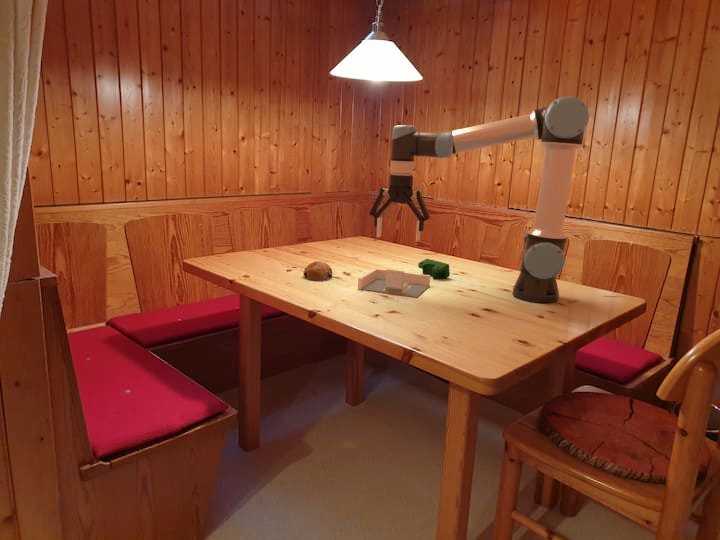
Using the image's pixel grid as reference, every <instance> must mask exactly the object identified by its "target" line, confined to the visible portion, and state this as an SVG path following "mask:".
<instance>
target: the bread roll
mask: <svg viewBox="0 0 720 540" xmlns="http://www.w3.org/2000/svg"><path fill="white" fill-rule="evenodd" d="M303 276H304V277H305V279H307V280H310V281H318V282H324V281H323V280H325V281H329V280H331V278H332V276H333V269H332V268H331V266H330V265H329V264H328V263H327V262H325V261H319V260H318V261H317V260H315V261H313V262H311V263H309V264H308V265H307V266H306V267H305V268H304V270H303Z"/></svg>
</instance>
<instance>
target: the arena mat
mask: <svg viewBox="0 0 720 540" xmlns="http://www.w3.org/2000/svg"><path fill="white" fill-rule="evenodd" d="M385 282H386V280H381V279H375V280H374V281H372V282H371V283H369V284H368V285H366V286H365V287H363V288H362V289H361V290H360V291H365V290H366V292H374V293H378V294H379V293H380V294H387V295H394V296H401V297H408V298H415V299H418V298H419V297H420V296H421V295H422V294H423V293H424V292H426V290H427V289H428V288H430V286H425V285H418V284H411V283H409V287H408V288H407V289H405V290H404V291H403V292H396V291H389V290H385Z"/></svg>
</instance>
